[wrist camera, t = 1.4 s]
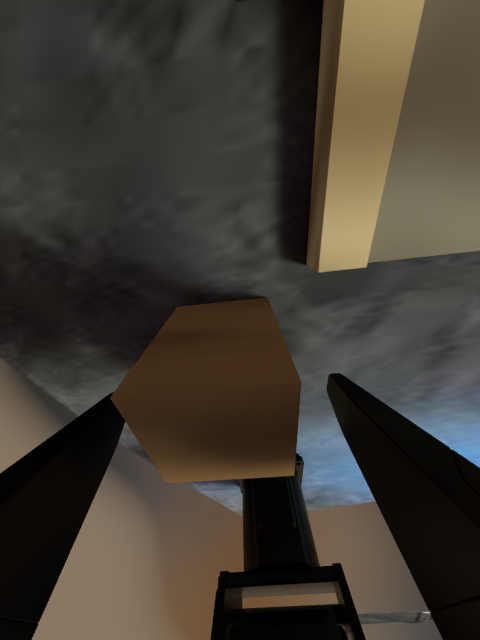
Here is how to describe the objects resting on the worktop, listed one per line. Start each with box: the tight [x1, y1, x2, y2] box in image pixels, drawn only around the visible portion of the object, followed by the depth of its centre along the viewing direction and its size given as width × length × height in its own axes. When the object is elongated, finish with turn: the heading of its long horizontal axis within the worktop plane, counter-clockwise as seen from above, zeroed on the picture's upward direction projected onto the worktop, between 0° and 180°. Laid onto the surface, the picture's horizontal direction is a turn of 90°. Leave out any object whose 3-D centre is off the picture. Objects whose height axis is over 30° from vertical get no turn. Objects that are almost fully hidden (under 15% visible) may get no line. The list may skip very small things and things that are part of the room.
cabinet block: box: [110, 297, 301, 483], centre depth 9 cm, size 6×5×6 cm
